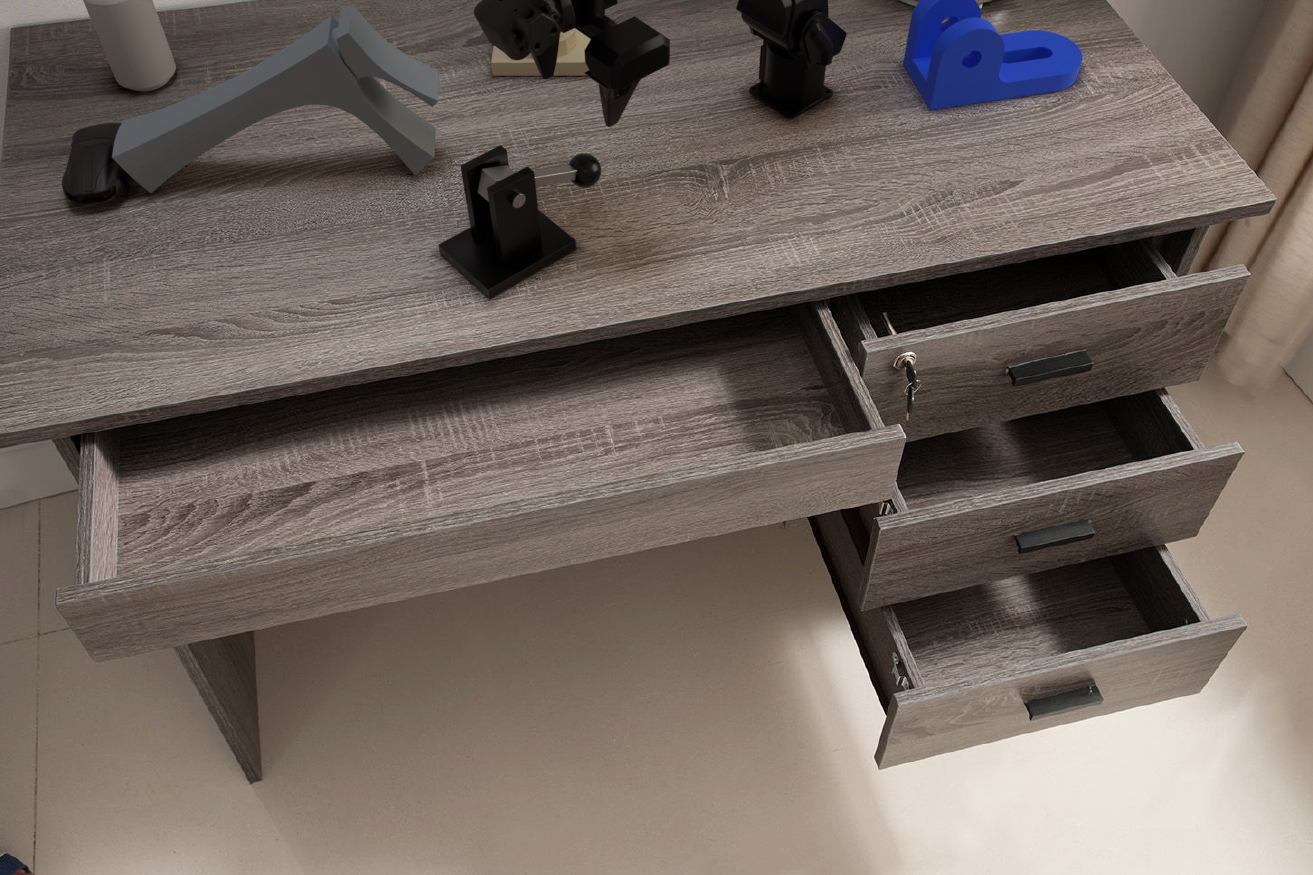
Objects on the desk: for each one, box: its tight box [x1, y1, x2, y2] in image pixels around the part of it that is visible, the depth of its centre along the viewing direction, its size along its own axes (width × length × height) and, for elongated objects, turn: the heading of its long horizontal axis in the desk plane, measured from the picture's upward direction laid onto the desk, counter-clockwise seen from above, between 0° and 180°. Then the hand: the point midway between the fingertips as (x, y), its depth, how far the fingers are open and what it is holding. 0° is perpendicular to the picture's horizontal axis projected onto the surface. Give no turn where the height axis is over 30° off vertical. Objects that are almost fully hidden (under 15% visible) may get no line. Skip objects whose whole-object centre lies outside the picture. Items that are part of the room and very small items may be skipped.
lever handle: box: [478, 152, 602, 202], centre depth 112 cm, size 13×3×3 cm, turn 131°
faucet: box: [112, 3, 441, 194], centre depth 120 cm, size 6×17×30 cm
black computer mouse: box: [61, 122, 130, 206], centre depth 121 cm, size 6×12×4 cm, turn 9°
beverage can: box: [82, 0, 177, 92], centre depth 128 cm, size 6×6×12 cm
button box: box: [490, 28, 591, 77], centre depth 134 cm, size 11×8×4 cm
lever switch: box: [438, 144, 577, 300], centre depth 111 cm, size 10×8×10 cm
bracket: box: [902, 0, 1083, 111], centre depth 128 cm, size 18×8×9 cm, turn 103°
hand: (579, 100), depth 109 cm, fingers open, 9 cm apart
